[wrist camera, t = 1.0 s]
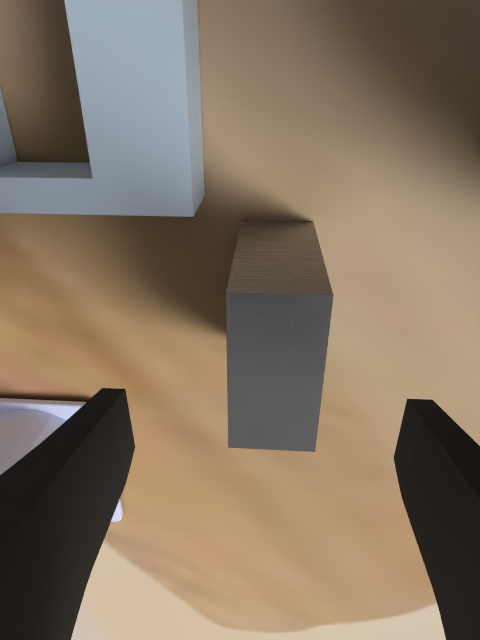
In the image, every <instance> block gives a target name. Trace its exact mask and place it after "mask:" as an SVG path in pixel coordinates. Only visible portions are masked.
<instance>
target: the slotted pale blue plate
mask: <svg viewBox="0 0 480 640" xmlns="http://www.w3.org/2000/svg"><path fill="white" fill-rule="evenodd" d="M64 1H65V7H66V14H67V20H68V26H69V33H70V39H71V45H72V52H73V58H74V64H75V70H76V77H77V83H78V89H79V96H80V102H81V108H82V114H83V121H84V127H85V133H86V140H87V146H88V152H89V158H90V163H71V162H18V160H17V156H16V152H15V147H14V143H13V139H12V135H11V130H10V126H9V122H8V118H7V113H6V109H5V105H4V101H3V96H2V92H1V88H0V213H27V214H78V215H130V216H181V217H194V215H195V213H196V211H197V209H198V208H199V206H200V204H201V202H202V200H203V199H204V197H205V185H204V159H203V133H202V106H201V80H200V54H199V27H198V1H197V0H64Z"/></svg>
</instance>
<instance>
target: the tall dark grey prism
mask: <svg viewBox="0 0 480 640" xmlns="http://www.w3.org/2000/svg"><path fill="white" fill-rule="evenodd" d="M332 302H333V293H332V289H331V285H330V282H329V278H328V274H327V271H326V267H325V263H324V260H323V256H322V252H321V249H320V245H319V241H318V238H317V234H316V230H315V227H314V223H313V222H299V221H249V220H241V224H240V229H239V234H238V238H237V243H236V248H235V252H234V257H233V262H232V266H231V271H230V275H229V280H228V285H227V289H226V331H227V391H228V447H229V448H249V449H270V450H290V451H310V452H315V447H316V439H317V430H318V422H319V413H320V405H321V396H322V387H323V379H324V370H325V362H326V353H327V345H328V336H329V328H330V319H331V310H332Z"/></svg>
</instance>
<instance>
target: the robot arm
mask: <svg viewBox="0 0 480 640" xmlns="http://www.w3.org/2000/svg"><path fill="white" fill-rule="evenodd" d="M134 449H135V444H134V438H133V432H132V426H131V420H130V414H129V408H128V403H127V397H126V391H125V389H110V388H102V389H101V390H100V391H99V392H98V393H96V394H95V395H94V396H93V397H92V398H91V399H90V400H89V401H87V402H76V401H53V400H31V399H8V398H0V640H71V636H72V633H73V629H74V626H75V623H76V619H77V615H78V612H79V609H80V605H81V602H82V598H83V595H84V592H85V588H86V585H87V582H88V579H89V576H90V574H91V571H92V568H93V565H94V563H95V560H96V558H97V555H98V553H99V550H100V548H101V545H102V543H103V540H104V538H105V535H106V533H107V530H108V528H109V525H110V522H117V521H120V520H121V518H122V515H123V511H122V506H121V501H120V497H121V494H122V492H123V489H124V486H125V484H126V480H127V477H128V473H129V469H130V465H131V461H132V457H133V453H134ZM394 462H395V467H396V472H397V477H398V482H399V486H400V491H401V496H402V499H403V502H404V505H405V508H406V511H407V514H408V517H409V520H410V523H411V526H412V529H413V532H414V535H415V538H416V541H417V544H418V547H419V549H420V552H421V555H422V558H423V561H424V564H425V567H426V570H427V573H428V576H429V579H430V582H431V584H432V587H433V591H434V594H435V597H436V601H437V604H438V607H439V611H440V615H441V620H442V624H443V628H444V632H445V636H446V640H480V446H479V445H478V444H477V443H476V442H475V441H474V440H473V439H472V438H471V437H470V436H469V435H468V434H467V433H466V432H465V431H464V430H463V429H462V428H461V427H460V426H459V425H458V424H457V423H456V422H454V421H453V420H452V419H451V418H450V417H449V416H448V415H447V414H446V413H445V412H444V411H443V410H442V409H441V408H440V407H439V406H438V405H437V404H436V403H435V402H434V401H433V400H423V399H407V402H406V407H405V411H404V415H403V420H402V424H401V428H400V433H399V437H398V442H397V446H396V450H395V455H394Z"/></svg>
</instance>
